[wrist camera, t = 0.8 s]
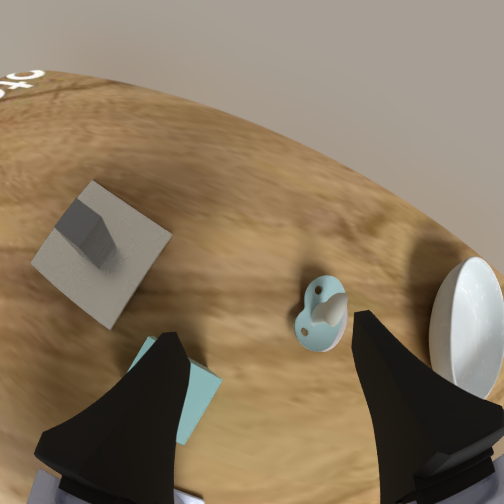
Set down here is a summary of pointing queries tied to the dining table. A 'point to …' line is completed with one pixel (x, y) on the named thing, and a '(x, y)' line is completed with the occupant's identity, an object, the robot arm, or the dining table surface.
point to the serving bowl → (468, 328)
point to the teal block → (190, 393)
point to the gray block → (100, 253)
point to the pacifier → (322, 315)
